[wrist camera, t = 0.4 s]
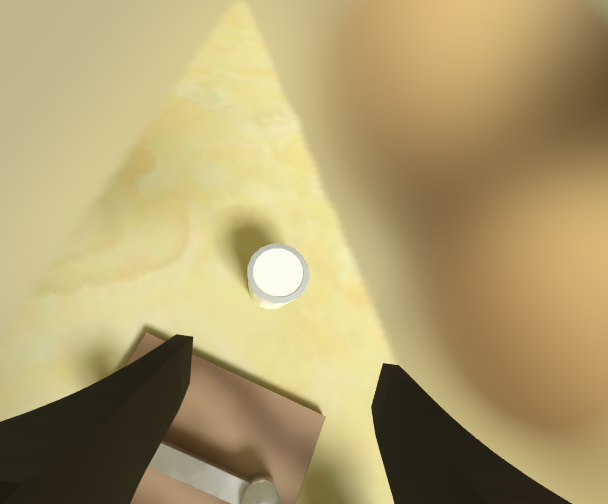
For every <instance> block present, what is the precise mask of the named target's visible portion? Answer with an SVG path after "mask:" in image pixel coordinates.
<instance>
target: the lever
mask: <svg viewBox="0 0 608 504" xmlns="http://www.w3.org/2000/svg"><path fill="white" fill-rule="evenodd" d="M148 467H150V468H152V469H155V470H157V471H159V472H161V473H164V474H166V475H168V476H170V477H173V478H175V479H177V480H179V481H182V482H184V483H186V484H188V485H190V486H193V487H195V488H197V489H199V490H202V491H204V492H206V493H208V494H211V495H213V496H215V497H217V498H220V499H222V500H224V501H226V502H229V503H231V504H281V498H280V495H279V492H278V490H277V487H276V485H275V483H274V481H273V479H272V478H271V477H270V476H269V475H267V474H265V473H255V474H253V475H251V476H250V477H248V478H246V477H243V476H241V475H239V474H237V473H235V472H232V471H230V470H228V469H226V468H224V467H221V466H219V465H217V464H215V463H212V462H210V461H208V460H206V459H204V458H201V457H199V456H197V455H195V454H192V453H190V452H188V451H186V450H184V449H181V448H179V447H177V446H175V445H173V444H170V443H168V442H166V441H164V440H162V442H161V444H160V446H159V448H158V449H157V451H156V453H155V455H154V457H153V458H152V460H151V462H150V464H149V466H148Z"/></svg>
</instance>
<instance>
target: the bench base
mask: <svg viewBox="0 0 608 504" xmlns="http://www.w3.org/2000/svg"><path fill="white" fill-rule="evenodd" d="M164 342H165V341H164V340H162V339H160V338H157V337H155V336H153V335H151V334H149V333H146V334H145V336H144V337H143V339H142V340H141V342H140V344H139V345H138V347H137V348H136V350H135V351H134V353H133V355H132V356H131V358H130V359H129V361H128V362H127V364H126V366H127V365H129V364H131V363H132V362H134V361H136V360H137V359H139V358H140V357H142V356H144V355H145V354H147V353H148V352H150V351H152V350H153V349H155V348H156V347H158V346H159V345H161V344H162V343H164ZM325 417H326V416H324V415H321V414H319V413H317V412H315V411H313V410H311V409H309V408H307V407H304V406H302V405H300V404H298V403H296V402H294V401H292V400H289V399H287V398H285V397H283V396H281V395H279V394H277V393H275V392H272V391H270V390H268V389H266V388H264V387H262V386H260V385H258V384H255V383H253V382H251V381H249V380H247V379H245V378H243V377H240V376H238V375H236V374H234V373H232V372H230V371H228V370H226V369H223V368H221V367H219V366H217V365H215V364H213V363H211V362H209V361H206V360H204V359H202V358H200V357H198V356H196V355H194V354H192V361H191V376H190V384H189V387H188V389H187V392H186V394H185V397H184V399H183V402H182V404H181V407H180V409H179V411H178V413H177V415H176V417H175V418H174V420H173V422H172V424H171V426H170V428H169V429H168V431H167V433H166V435H165V437H164V438H163V440H164V441H166V442H168V443H170V444H173V445H175V446H177V447H179V448H181V449H184V450H186V451H188V452H190V453H192V454H195V455H197V456H199V457H201V458H204V459H206V460H208V461H210V462H212V463H215V464H217V465H219V466H221V467H224V468H226V469H228V470H230V471H232V472H235V473H237V474H239V475H241V476H243V477H246V478H248V477H250V476H251V475H253V474H255V473H265V474H267V475H269V476H270V477H271V478H272V479H273V481H274V483H275V485H276V487H277V490H278V492H279V495H280V498H281V504H296V501H297V498H298V495H299V492H300V489H301V486H302V483H303V480H304V478H305V475H306V472H307V469H308V466H309V463H310V460H311V457H312V454H313V452H314V449H315V446H316V443H317V440H318V437H319V434H320V431H321V428H322V426H323V423H324V420H325ZM130 504H231V503H229V502H226V501H224V500H222V499H220V498H217V497H215V496H213V495H211V494H208V493H206V492H204V491H202V490H199V489H197V488H195V487H193V486H190V485H188V484H186V483H184V482H182V481H179V480H177V479H175V478H173V477H170V476H168V475H166V474H164V473H161V472H159V471H157V470H155V469H152V468H150V467H148V468H147V469H146V471H145V473H144V475H143V477H142V479H141V481H140V483H139V485H138V487H137V490H136V492H135V494H134V496H133V499H132V501H131V503H130Z"/></svg>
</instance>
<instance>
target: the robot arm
mask: <svg viewBox="0 0 608 504" xmlns="http://www.w3.org/2000/svg"><path fill="white" fill-rule="evenodd" d="M192 346H193V337H191V336H184V335H175V336H173V337H172V338H170V339H169V340H167V341H165V342H164V343H162V344H161V345H159V346H158V347H156V348H155V349H153V350H152V351H150V352H148V353H147V354H145V355H144V356H142V357H140V358H139V359H137V360H136V361H134V362H132V363H131V364H129V365H127V366H125V367H124V368H122V369H120V370H118V371H117V372H115V373H113V374H111V375H110V376H108V377H106V378H104V379H102V380H100V381H98V382H96V383H94V384H92V385H90V386H88V387H86V388H84V389H82V390H80V391H78V392H76V393H73V394H71V395H69V396H67V397H64V398H62V399H60V400H57V401H55V402H52V403H50V404H47V405H45V406H42V407H40V408H37V409H35V410H32V411H30V412H27V413H24V414H21V415H19V416H16V417H13V418H10V419H7V420H4V421H1V422H0V504H130V503H131V501H132V499H133V496H134V494H135V492H136V490H137V487H138V485H139V483H140V481H141V479H142V477H143V475H144V473H145V471H146V469H147V468H148V466H149V464H150V462H151V460H152V458H153V457H154V455H155V453H156V451H157V449H158V448H159V446H160V444H161V442H162V440H163V438H164V437H165V435H166V433H167V431H168V429H169V428H170V426H171V424H172V422H173V420H174V418H175V417H176V415H177V413H178V411H179V409H180V407H181V404H182V402H183V399H184V397H185V394H186V392H187V389H188V387H189V384H190V376H191V361H192ZM371 408H372V416H373V423H374V429H375V435H376V439H377V442H378V446H379V450H380V453H381V457H382V460H383V464H384V468H385V471H386V475H387V478H388V482H389V485H390V489H391V492H392V496H393V500H394V504H572V503H570V502H568V501H567V500H565V499H563V498H562V497H560V496H558V495H557V494H555V493H553V492H552V491H550V490H548V489H547V488H545V487H544V486H542V485H540V484H539V483H537V482H536V481H534V480H533V479H531V478H530V477H528V476H527V475H525V474H524V473H522V472H521V471H520V470H518V469H517V468H515V467H514V466H512V465H511V464H509V463H508V462H507V461H505V460H504V459H502V458H501V457H500V456H498V455H497V454H496V453H494V452H493V451H492V450H490V449H489V448H488V447H487V446H485V445H484V444H482V442H480V441H479V440H478V439H476V438H475V437H474V436H473V435H472V434H470V433H469V432H468V431H467V430H466V429H464V428H463V427H462V426H461V425H460V424H459V423H458V422H456V421H455V420H454V419H453V418H452V417H451V416H450V415H449V414H448V413H447V412H446V411H444V410H443V409H442V408H441V407H440V406H439V405H438V404H437V403H436V402H435V401H434V400H433V399H432V398H431V397H430V396H429V395H428V394H427V393H426V392H425V391H424V390H423V389H422V388H421V387H420V386H419V385H418V384H417V383H416V382H415V381H414V380H413V379H412V378H411V377H410V376H409V375H408V374H407V373H406V372H405V371H404V370H403V369H402V368H401V367H400V366H399V365H393V364H385V363H383V365H382V369H381V373H380V376H379V380H378V384H377V388H376V391H375V395H374V399H373V402H372V406H371Z"/></svg>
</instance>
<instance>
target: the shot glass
mask: <svg viewBox="0 0 608 504" xmlns="http://www.w3.org/2000/svg"><path fill="white" fill-rule="evenodd" d="M247 276H248V287H249V293H250V295H251V298H252V300H253V301H254V302H255V303H256V304H257V305H258V306H260V307H263V308H266V309H277V308H279V307H281V306H283V305H285V304H287V303H289V302H291V301H293V300H294V299H296V298H298V297H299V296H300V295H301V293H302V292H303V291H304V290H305V289H306V286H307V283H308V280H309V270H308V265H307V263H306V261H305V259H304V257H303V256H302V255H301V254H300V253H299V252H298V251H297V250H296V249H295V248H293V247H290V246H288V245H285V244H269V245H266V246H264V247H261V248H260V249H259V250H258V251H256V252H255V253H254V254H253V255H252V257H251V259H250V262H249V264H248V266H247Z"/></svg>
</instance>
